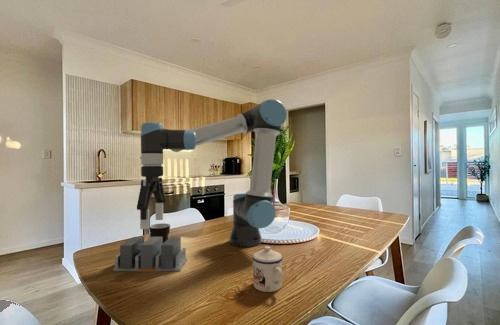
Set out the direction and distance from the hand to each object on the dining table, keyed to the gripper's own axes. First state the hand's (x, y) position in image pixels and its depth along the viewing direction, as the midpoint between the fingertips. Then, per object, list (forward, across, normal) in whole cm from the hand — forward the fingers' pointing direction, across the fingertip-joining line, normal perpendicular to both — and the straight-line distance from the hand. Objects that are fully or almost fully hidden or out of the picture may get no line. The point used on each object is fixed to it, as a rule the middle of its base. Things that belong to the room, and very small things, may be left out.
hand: (152, 224), depth 91 cm
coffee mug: (+15, -20, -4) cm, 25 cm away
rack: (+15, 0, 0) cm, 15 cm away
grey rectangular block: (+14, 0, 0) cm, 14 cm away
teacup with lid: (+16, +16, +41) cm, 47 cm away
